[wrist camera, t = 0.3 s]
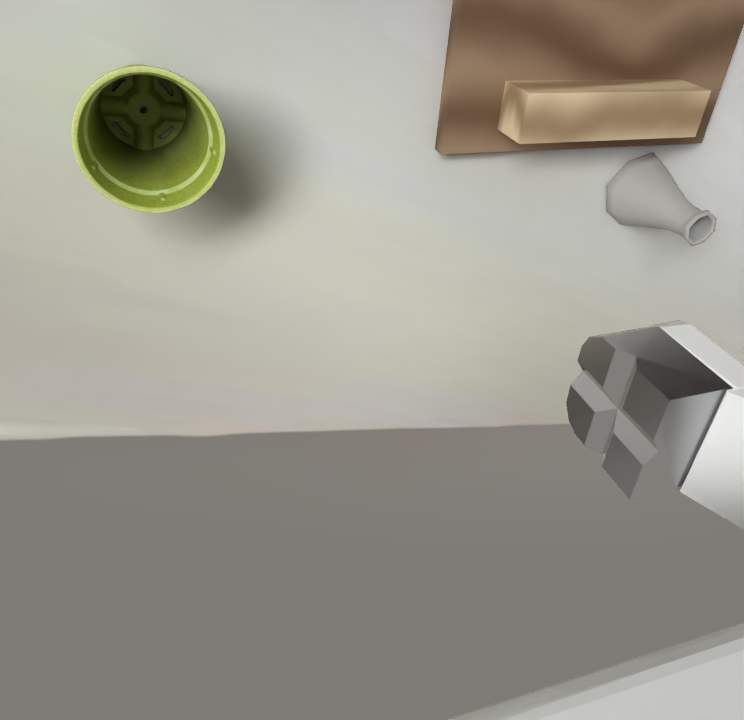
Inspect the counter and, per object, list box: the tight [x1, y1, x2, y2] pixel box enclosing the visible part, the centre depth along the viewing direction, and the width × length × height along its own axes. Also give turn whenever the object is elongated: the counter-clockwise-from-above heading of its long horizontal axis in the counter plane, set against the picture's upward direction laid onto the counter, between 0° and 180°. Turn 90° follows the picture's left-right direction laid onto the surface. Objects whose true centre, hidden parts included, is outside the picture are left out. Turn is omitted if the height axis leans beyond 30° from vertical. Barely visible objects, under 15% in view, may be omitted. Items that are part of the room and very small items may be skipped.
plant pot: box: [72, 65, 226, 213], centre depth 46 cm, size 9×9×9 cm
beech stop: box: [497, 79, 711, 144], centre depth 58 cm, size 4×18×4 cm, turn 87°
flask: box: [606, 153, 716, 246], centre depth 65 cm, size 7×7×10 cm
